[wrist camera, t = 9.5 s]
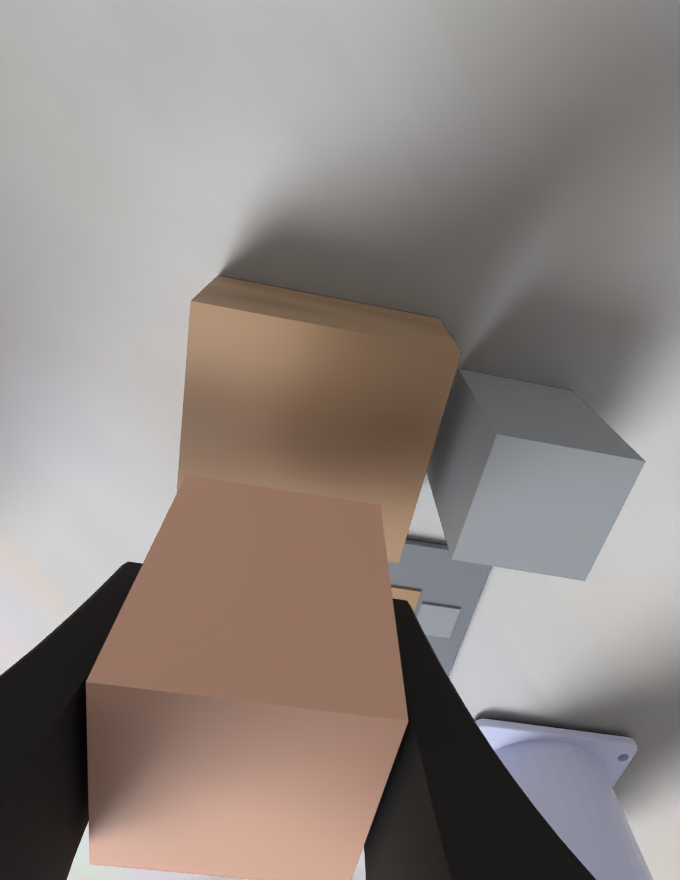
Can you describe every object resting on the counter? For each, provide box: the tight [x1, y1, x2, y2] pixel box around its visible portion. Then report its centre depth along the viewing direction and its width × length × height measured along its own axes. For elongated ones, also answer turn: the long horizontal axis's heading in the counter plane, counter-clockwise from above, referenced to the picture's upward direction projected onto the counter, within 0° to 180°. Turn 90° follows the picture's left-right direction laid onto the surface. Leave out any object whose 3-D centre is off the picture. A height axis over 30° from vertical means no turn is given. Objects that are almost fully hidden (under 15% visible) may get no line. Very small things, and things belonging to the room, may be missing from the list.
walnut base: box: [177, 276, 462, 563], centre depth 17 cm, size 7×7×4 cm
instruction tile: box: [388, 539, 491, 676], centre depth 23 cm, size 8×6×1 cm
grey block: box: [427, 369, 646, 581], centre depth 17 cm, size 4×4×5 cm
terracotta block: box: [86, 475, 408, 880], centre depth 10 cm, size 4×4×5 cm
